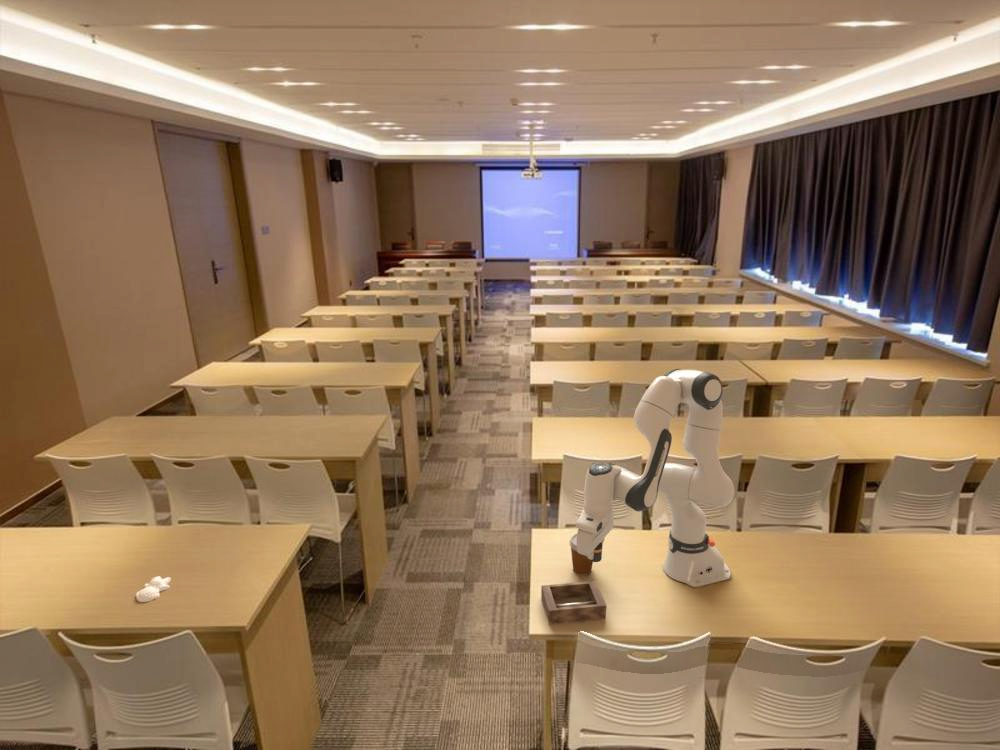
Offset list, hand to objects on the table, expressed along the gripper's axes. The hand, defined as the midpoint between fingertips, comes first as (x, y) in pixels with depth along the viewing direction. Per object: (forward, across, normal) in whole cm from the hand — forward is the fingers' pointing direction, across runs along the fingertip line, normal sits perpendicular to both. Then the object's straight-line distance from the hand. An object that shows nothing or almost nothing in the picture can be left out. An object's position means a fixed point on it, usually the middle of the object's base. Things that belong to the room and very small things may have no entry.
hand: (594, 553), depth 190 cm
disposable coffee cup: (+18, -14, -10) cm, 25 cm away
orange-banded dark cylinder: (+2, 0, 0) cm, 2 cm away
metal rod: (+16, +7, -2) cm, 17 cm away
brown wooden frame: (+18, +5, -4) cm, 20 cm away
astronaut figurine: (+21, +72, -126) cm, 147 cm away
